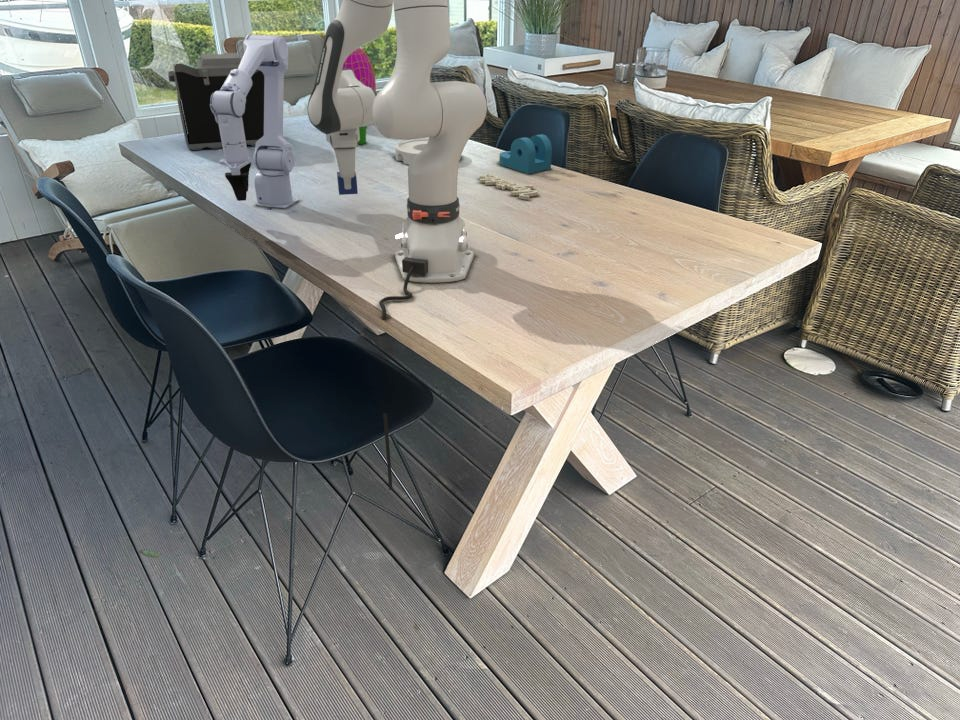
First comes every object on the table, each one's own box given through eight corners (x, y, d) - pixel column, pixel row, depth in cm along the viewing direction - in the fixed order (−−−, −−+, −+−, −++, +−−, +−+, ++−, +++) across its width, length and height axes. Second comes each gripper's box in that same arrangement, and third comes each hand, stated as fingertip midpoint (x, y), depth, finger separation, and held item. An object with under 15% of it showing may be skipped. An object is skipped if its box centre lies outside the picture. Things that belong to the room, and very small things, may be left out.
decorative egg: (362, 116, 305) (357, 42, 290) (386, 123, 292) (382, 46, 277) (324, 121, 294) (316, 45, 279) (347, 129, 281) (340, 49, 266)
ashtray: (454, 167, 232) (454, 155, 230) (388, 164, 235) (387, 152, 233) (466, 151, 252) (466, 140, 250) (404, 148, 255) (404, 137, 253)
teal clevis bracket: (550, 168, 233) (552, 137, 227) (527, 173, 227) (529, 141, 222) (515, 157, 245) (516, 127, 239) (493, 162, 239) (493, 131, 234)
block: (356, 188, 193) (355, 171, 190) (357, 193, 189) (356, 175, 186) (338, 189, 192) (336, 171, 189) (339, 194, 188) (337, 176, 185)
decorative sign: (550, 191, 207) (525, 197, 202) (550, 194, 207) (525, 200, 202) (495, 172, 225) (471, 176, 220) (495, 174, 225) (471, 179, 220)
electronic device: (279, 131, 276) (269, 50, 261) (287, 144, 259) (276, 57, 243) (182, 138, 265) (165, 53, 250) (183, 151, 247) (164, 61, 232)
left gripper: (219, 136, 176) (229, 188, 183) (213, 149, 164) (224, 205, 171) (248, 135, 177) (256, 187, 184) (244, 148, 165) (253, 203, 172)
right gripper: (329, 125, 190) (334, 175, 197) (332, 143, 173) (337, 196, 180) (352, 125, 191) (356, 174, 198) (357, 142, 174) (361, 195, 181)
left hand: (242, 195), depth 178 cm, fingers open, 7 cm apart
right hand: (347, 185), depth 189 cm, fingers closed on block, 5 cm apart
